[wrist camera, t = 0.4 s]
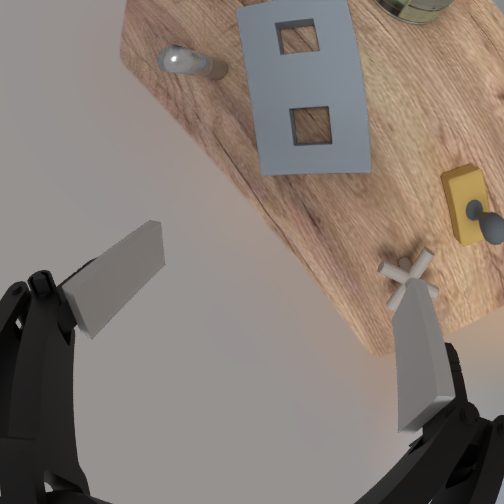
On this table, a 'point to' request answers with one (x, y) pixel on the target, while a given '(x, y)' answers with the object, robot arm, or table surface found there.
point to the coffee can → (414, 9)
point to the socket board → (305, 87)
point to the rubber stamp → (471, 207)
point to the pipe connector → (407, 275)
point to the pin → (191, 63)
